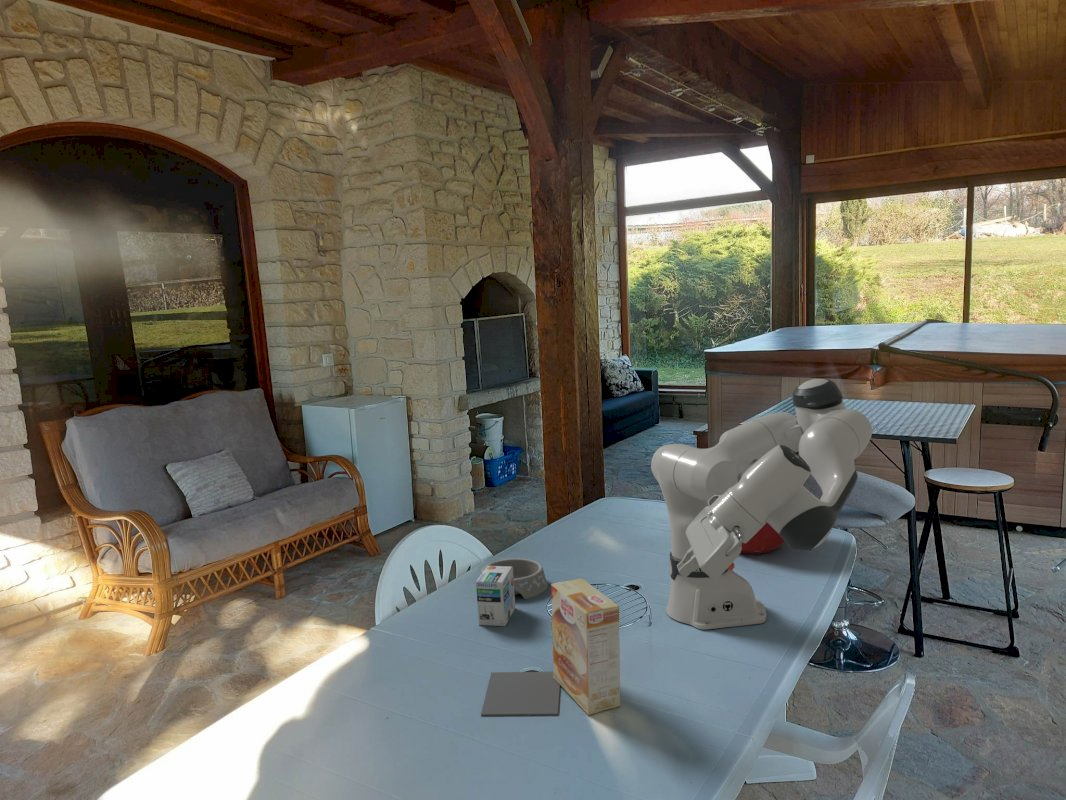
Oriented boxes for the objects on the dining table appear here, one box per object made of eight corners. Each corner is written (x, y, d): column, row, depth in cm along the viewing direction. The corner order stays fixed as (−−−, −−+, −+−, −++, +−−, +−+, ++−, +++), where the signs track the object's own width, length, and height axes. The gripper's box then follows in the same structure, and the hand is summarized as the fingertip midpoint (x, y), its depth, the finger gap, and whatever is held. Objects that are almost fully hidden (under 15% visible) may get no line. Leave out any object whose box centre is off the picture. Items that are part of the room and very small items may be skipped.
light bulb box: (505, 627, 170) (503, 582, 168) (477, 626, 171) (474, 581, 170) (516, 607, 180) (513, 565, 179) (489, 606, 181) (486, 564, 180)
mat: (560, 672, 148) (560, 671, 148) (557, 715, 133) (557, 713, 133) (491, 673, 149) (491, 672, 149) (481, 715, 134) (480, 714, 134)
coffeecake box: (552, 677, 145) (549, 583, 143) (584, 669, 148) (582, 576, 145) (587, 716, 132) (585, 612, 129) (621, 706, 134) (620, 605, 132)
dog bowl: (481, 576, 202) (480, 558, 201) (548, 574, 201) (547, 555, 201) (474, 602, 185) (473, 582, 184) (547, 599, 184) (546, 579, 184)
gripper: (759, 550, 123) (701, 607, 125) (735, 514, 143) (685, 563, 145) (732, 525, 123) (674, 583, 125) (711, 492, 143) (662, 542, 145)
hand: (680, 572), depth 135 cm, fingers closed
